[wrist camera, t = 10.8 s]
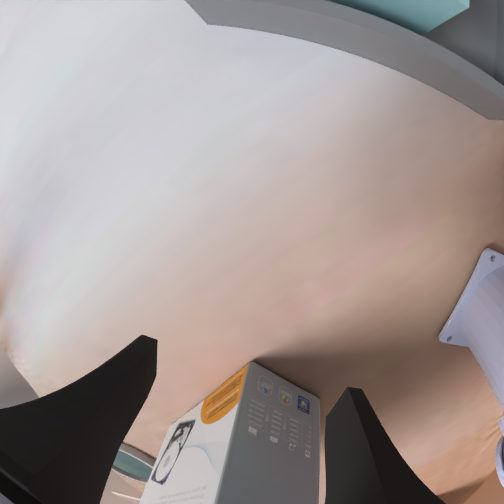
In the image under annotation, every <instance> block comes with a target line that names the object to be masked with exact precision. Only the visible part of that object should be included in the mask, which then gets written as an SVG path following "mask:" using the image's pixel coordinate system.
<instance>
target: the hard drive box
mask: <svg viewBox="0 0 504 504" xmlns="http://www.w3.org/2000/svg"><path fill="white" fill-rule="evenodd" d="M319 476H320V401H319V398H318V397H315V396H314V395H312V394H310V393H308V392H306V391H304V390H302V389H301V388H299V387H297V386H295V385H293V384H292V383H290V382H288V381H286V380H284V379H283V378H281V377H279V376H277V375H275V374H274V373H272V372H270V371H269V370H267V369H265V368H263V367H262V366H260V365H258V364H257V363H255V362H250V363H248V364H247V365H246V366H245V367H244V368H242V369H241V370H240V371H239V372H238V373H236V374H235V375H234V376H233V377H231V378H229V379H228V380H227V381H226V382H224V383H223V384H222V385H221V386H220V387H219V388H218V389H217V390H216V391H214V392H213V393H212V394H211V395H210V396H208V397H207V398H206V399H204V400H203V401H202V402H201V403H199V404H198V405H197V406H195V407H194V408H193V409H192V410H190V411H189V412H187V413H186V414H184V415H183V416H182V417H181V418H179V419H178V420H177V421H176V422H175V423H173V424H172V425H171V426H170V428H169V430H168V432H167V435H166V437H165V440H164V442H163V445H162V447H161V449H160V452H159V454H158V457H157V459H156V462H155V464H154V467H153V470H152V472H151V475H150V477H149V480H148V482H147V485H146V487H145V490H144V492H143V495H142V497H141V500H140V502H139V504H318V503H319V501H318V500H319Z"/></svg>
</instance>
